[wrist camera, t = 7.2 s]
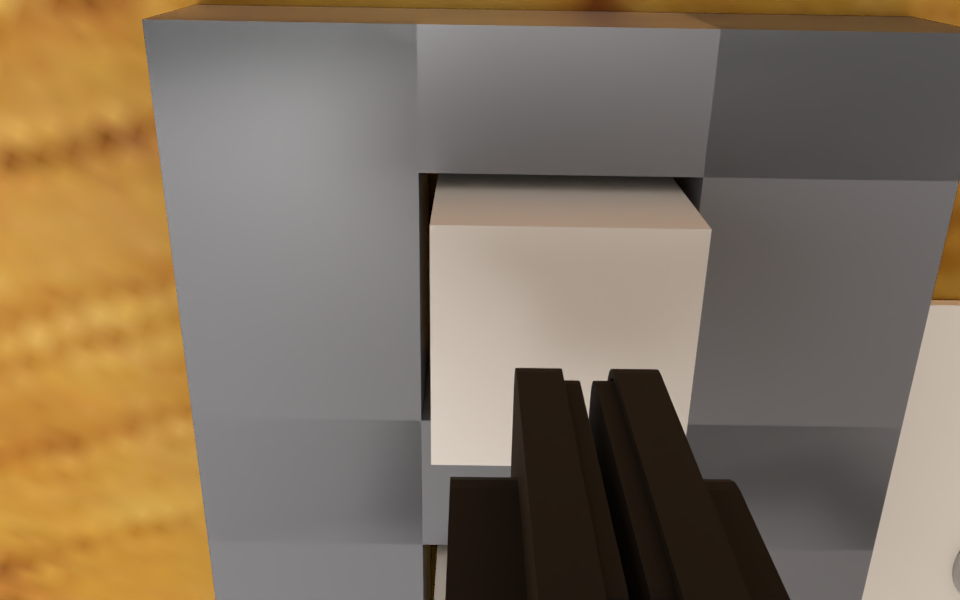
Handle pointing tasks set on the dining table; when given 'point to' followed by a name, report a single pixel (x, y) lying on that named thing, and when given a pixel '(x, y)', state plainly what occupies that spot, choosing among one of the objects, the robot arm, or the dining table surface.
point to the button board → (540, 151)
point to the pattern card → (925, 477)
